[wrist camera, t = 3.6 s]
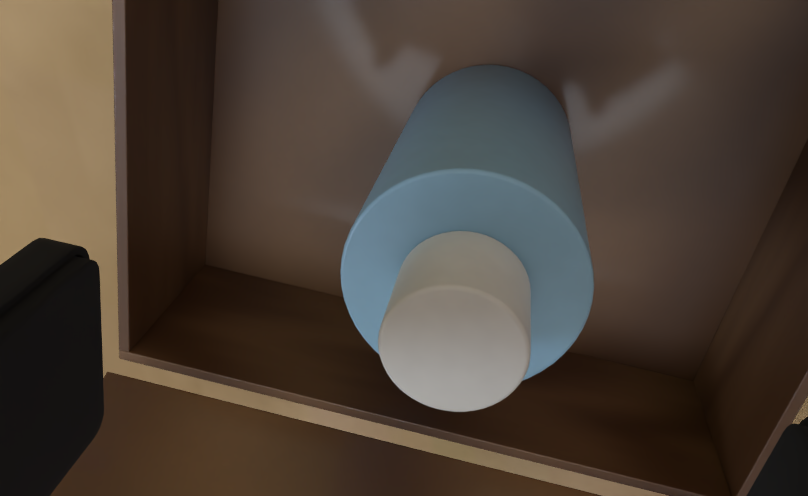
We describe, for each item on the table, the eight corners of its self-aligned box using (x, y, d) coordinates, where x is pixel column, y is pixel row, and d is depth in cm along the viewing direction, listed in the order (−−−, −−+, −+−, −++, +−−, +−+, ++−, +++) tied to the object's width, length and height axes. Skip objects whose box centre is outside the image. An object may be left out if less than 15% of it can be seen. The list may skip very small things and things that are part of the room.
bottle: (592, 84, 19) (648, 260, 10) (545, 236, 21) (556, 492, 12) (422, 47, 19) (328, 186, 10) (393, 201, 21) (295, 427, 12)
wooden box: (894, -30, 17) (1036, 2, 12) (696, 384, 23) (740, 513, 18) (219, -167, 18) (107, -185, 13) (200, 265, 24) (118, 358, 19)
